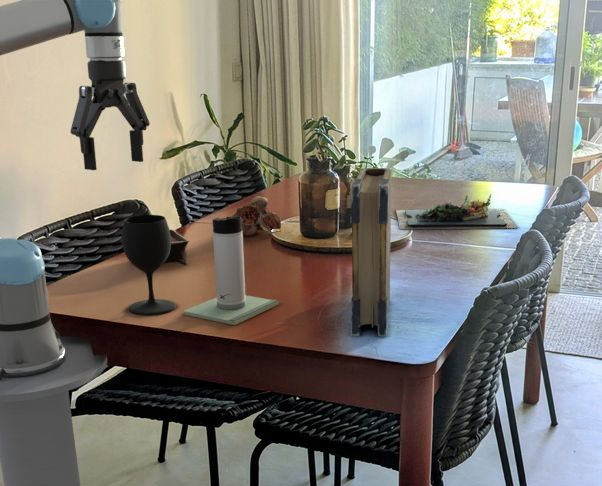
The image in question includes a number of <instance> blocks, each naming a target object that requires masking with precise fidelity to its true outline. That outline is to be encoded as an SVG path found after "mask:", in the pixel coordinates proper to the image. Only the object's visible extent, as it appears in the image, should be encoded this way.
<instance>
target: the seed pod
mask: <svg viewBox="0 0 602 486" xmlns="http://www.w3.org/2000/svg"><path fill="white" fill-rule="evenodd" d="M268 205H269V201H268V198H266V197H263V196H260V195H257V196H255V197H253V198H252V199H251V200H250V201H249V202H247V204H245V205H242V206H241V207H238V208H237V209H236V212H235V213H234V215H232V217H242V226H241V227H242V234H243V236H245V237H247V236H249V237H250V236H252V235H254V234H255V233H257V232H258V231H260V232H263V231H264V232H266V233H268V234H275V233H276V234H277V233H282V231H281V228H282V222H281V218H280V217H279V215H278V214H277V213H275V212H273V211H268V207H269V206H268ZM272 229H280V231H276V232H271V230H272Z"/></svg>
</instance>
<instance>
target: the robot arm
mask: <svg viewBox="0 0 602 486" xmlns="http://www.w3.org/2000/svg"><path fill="white" fill-rule="evenodd" d="M80 32H84V38H85V39H84V41H85V54H86V58H87V59H89V60H88V61H87V75H88V79H89V80H90V81H91V84H90V85H91V86H90V85H80V86H79V87H78V101H77V103H76V108H75V111H74V116H73V120H72V122H71V123H72V124H71V127H70V134H71V135H73V136H75V137H77V138H79V146H80V152H81V154H82V155H83V165H84V170H87V171H97V169H98V168H97V157H96V146H95V137H93V136H91V135H92V132H93V131H94V129H95V127H96V125H97V123H98V121H99V119H100V117H101V115H102V113H103V111H105V110H106V109H108V108H112V107H113V108H117V110H118V111H119V112H120V114H121V115H122V117H124V120H125V121H126V122H127V123H128V125H129V126H130V128H131V129H130V130H129V142H130V144H129V145H130V156H131V162H135V163H137V162H138V163H143V162H144V153H143V152H144V151H143V146H144V131H146V130H147V129H148V127H149V126H150V120H149V118H148V115H147V113H146V111H145V109H144V106H143V104H142V101H141V99H140V96H139V94H138V90H137V84H136V83H135V82H124V81H125V80H126V78H127V71H126V62H125V61H124V60H122V59H123V58H124V57H125V47H124V37H123V36H124V35H123V20H122V0H17V1H14V2H9V3H6V4H3V5H0V56H4V55H7V54H10V53H14V52H17V51H20V50H23V49H27V48H29V47H30V48H31V47H33V46H37V45H40V44H42V43H45V42H49V41H52V40H56V39H58V38H62V37H65V36H69V35H73V34H76V33H80ZM45 266H46V265H45V261H44V259H43V255H42V251H41V249H40V247H39V246H38V245H37V244H36V243H34V242H32V241H30V240H27V239H17V238H11V237H10V238H8V237H7V238H2V236H1V235H0V380H2V378H20V377H29V376H34V375H39V374H42V373H46V372H49V371H51V370H53V369H55V368H57V367H59V366H60V365H62V364H63V363H64V361H65V350H64V347H63V345H62V343H61V341H60V339H59V337H61V335H60V333H59V332H58V331H57V330H56V329H55V327H54V326H53V323H52V320H51V313H50V311H51V310H50V302H49V295H48V289H47V282H46V281H47V280H46V272H45V271H46V270H45ZM58 336H59V337H58Z"/></svg>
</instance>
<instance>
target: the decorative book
mask: <svg viewBox="0 0 602 486" xmlns="http://www.w3.org/2000/svg"><path fill="white" fill-rule="evenodd" d="M349 190H350V194H349V196H350V197H349V198H350V200H349V203H350V208H349V209H350V211H349V212H350V213H349V214H350V216H349V219H350V224H351V241H352V242H351V260H352V261H351V272H352V273H351V279H352V280H351V281H352V283H351V284H352V285H351V288H352V290H351V295H352V296H351V299H350V336H351V337H360V335H361V331H362V327H363V326H364V325H371V328H372V329H373V328H374V326H376V327H377V337H382V338H384V337H385V338H386V337H387V334H388V329H389V328H388V327H389V312H390V310H389V309H390V303H391V298H390V297H391V238H392V237H391V235H392V234H391V229H392V228H391V226H392V224H391V223H392V221H391V220H392V170H391V169H390V168H386V167H367V168H366V167H365V168H362V169H360V171H359V172H358V175H357V177H356V178H353V179H352V181H351V183H350V189H349Z"/></svg>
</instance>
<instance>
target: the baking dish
mask: <svg viewBox="0 0 602 486" xmlns="http://www.w3.org/2000/svg"><path fill="white" fill-rule="evenodd" d="M169 230H170V235H171V249H170V253H169V255H168V257H167V259H166V261H165V262H164V263H176V264H181V265H185V266H187V253H188V248H187V246H188V244H189V242H190V241H189V240H188V239H187V238H186V237H184V236H183V235H181V234H180V233H179V232H177V231H176V230H174V229H169Z"/></svg>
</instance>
